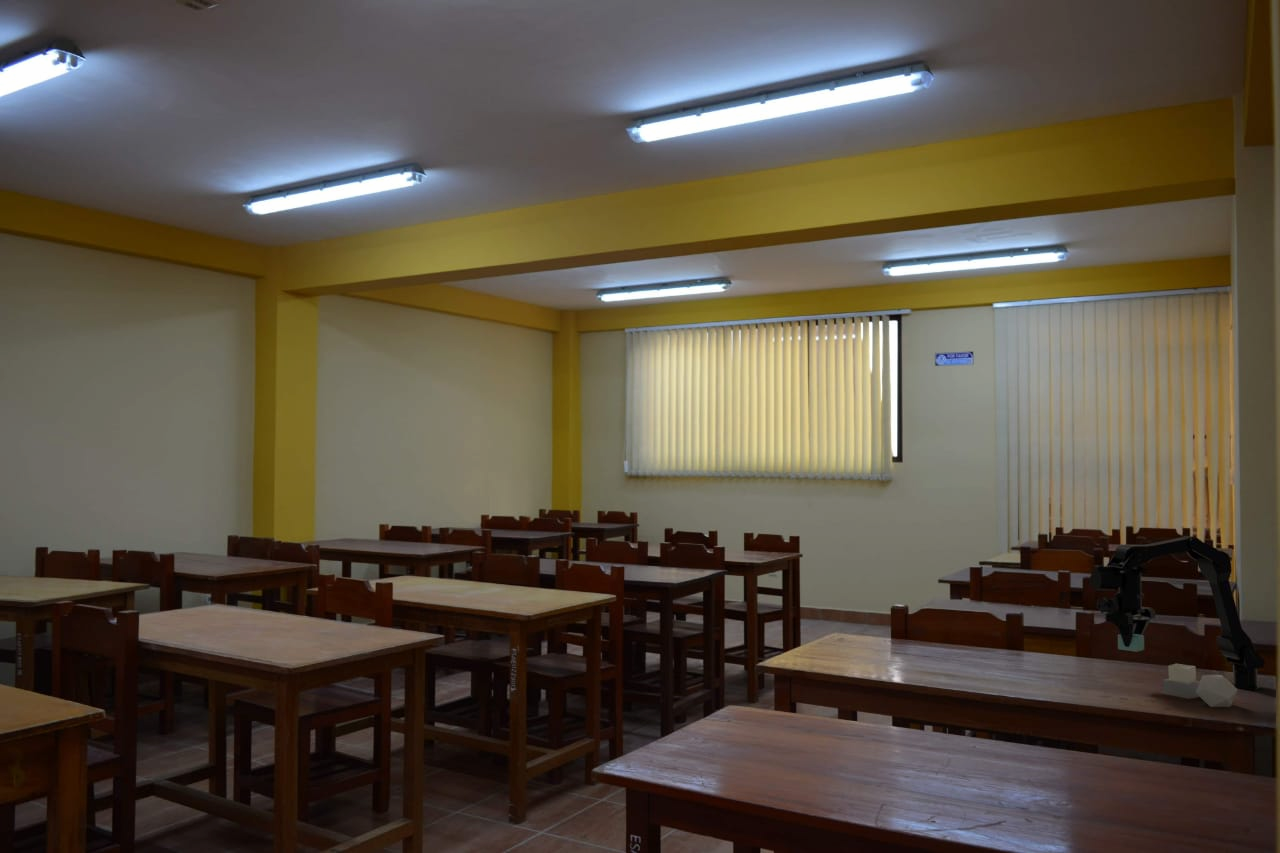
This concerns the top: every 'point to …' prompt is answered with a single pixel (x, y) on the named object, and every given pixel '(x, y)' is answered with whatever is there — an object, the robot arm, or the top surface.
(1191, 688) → the base block
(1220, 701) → the die
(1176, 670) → the cream brick
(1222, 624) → the robot arm
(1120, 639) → the teal brick
